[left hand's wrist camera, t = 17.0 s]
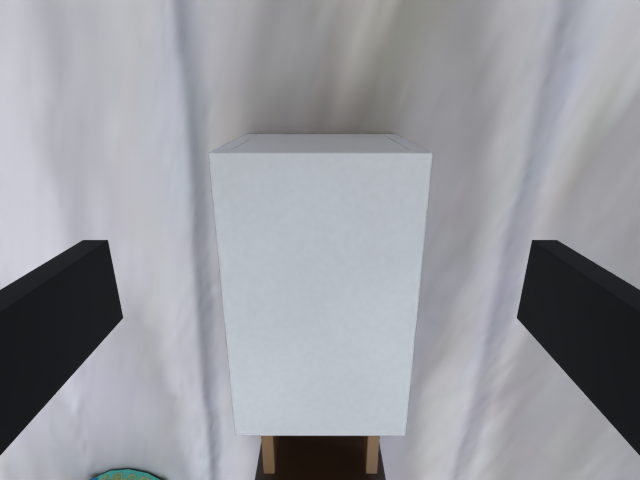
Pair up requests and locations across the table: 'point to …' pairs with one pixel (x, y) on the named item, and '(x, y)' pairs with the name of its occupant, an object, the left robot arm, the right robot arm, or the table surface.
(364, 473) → the drawer
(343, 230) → the grey box
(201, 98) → the table surface
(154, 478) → the decorative hourglass
